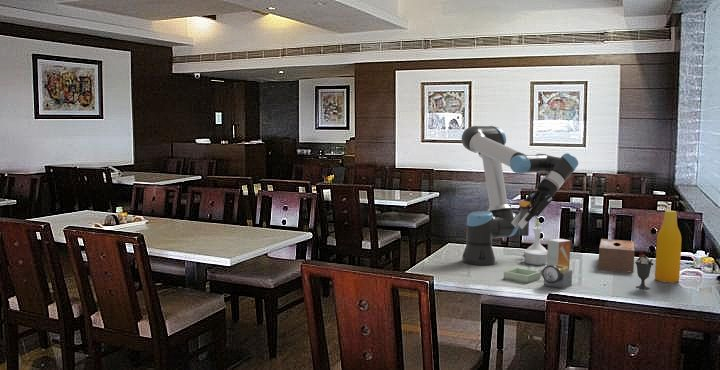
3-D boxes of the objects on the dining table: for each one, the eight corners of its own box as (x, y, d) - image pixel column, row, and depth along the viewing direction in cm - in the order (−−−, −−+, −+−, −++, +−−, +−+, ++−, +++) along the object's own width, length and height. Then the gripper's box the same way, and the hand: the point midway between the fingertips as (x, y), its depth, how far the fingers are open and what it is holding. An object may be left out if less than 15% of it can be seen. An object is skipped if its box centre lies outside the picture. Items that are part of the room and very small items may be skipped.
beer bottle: (675, 278, 263) (679, 210, 260) (682, 283, 254) (686, 213, 251) (652, 277, 265) (655, 209, 262) (657, 282, 256) (661, 212, 253)
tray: (503, 278, 258) (503, 271, 258) (516, 274, 266) (516, 267, 266) (528, 283, 251) (528, 276, 251) (540, 278, 259) (540, 271, 259)
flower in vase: (529, 252, 315) (531, 203, 312) (551, 255, 308) (553, 205, 306) (519, 256, 304) (521, 206, 302) (542, 260, 297) (544, 208, 295)
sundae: (630, 286, 249) (631, 248, 248) (646, 285, 249) (648, 248, 248) (638, 290, 242) (640, 252, 241) (655, 290, 243) (657, 252, 242)
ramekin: (544, 266, 283) (545, 255, 283) (520, 263, 289) (520, 252, 289) (551, 262, 293) (551, 251, 292) (527, 259, 299) (528, 248, 298)
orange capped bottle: (516, 235, 257) (517, 201, 256) (521, 233, 260) (522, 200, 259) (526, 236, 254) (527, 202, 252) (531, 235, 257) (533, 201, 256)
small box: (557, 271, 274) (559, 242, 273) (546, 268, 279) (547, 239, 278) (569, 269, 278) (571, 240, 277) (558, 266, 283) (559, 238, 282)
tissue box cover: (600, 259, 303) (601, 238, 302) (632, 262, 297) (633, 241, 296) (598, 269, 279) (599, 247, 278) (633, 273, 273) (634, 250, 272)
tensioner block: (540, 286, 246) (540, 264, 245) (552, 281, 254) (553, 260, 253) (559, 290, 240) (560, 267, 240) (571, 285, 249) (572, 263, 248)
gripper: (569, 192, 254) (534, 235, 249) (542, 188, 269) (509, 228, 264) (559, 179, 251) (524, 222, 246) (532, 176, 266) (499, 216, 261)
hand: (516, 225), depth 255 cm, fingers closed on orange capped bottle, 3 cm apart
